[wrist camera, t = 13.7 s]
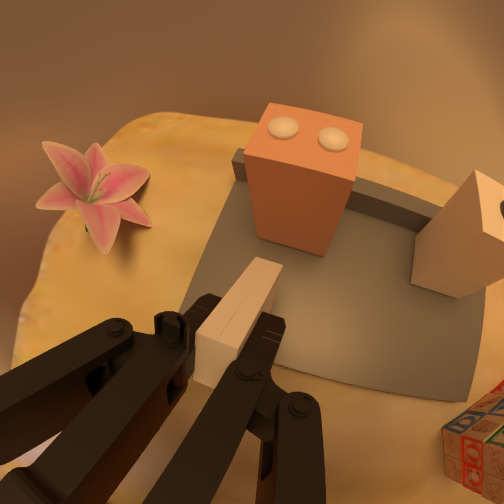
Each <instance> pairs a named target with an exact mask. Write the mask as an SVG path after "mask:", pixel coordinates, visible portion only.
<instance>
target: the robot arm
mask: <svg viewBox="0 0 504 504" xmlns="http://www.w3.org/2000/svg"><path fill="white" fill-rule="evenodd" d="M282 268H283V265H281V264H278V263H275V262H271V261H268V260H265V259H262V258H259V257H255V258H254V260H253V261H252V262H251V263H250V265H249V266H248V267H247V268H246V270H245V271H244V272H243V274H242V275H241V276H240V277H239V279H238V280H237V281H236V282H235V284H234V285H233V286H232V287H231V289H230V290H229V291H228V292H227V294H226V295H225V296H224V297H223V298H221V297H219V296H216V295H213V294H211V293H208V294H206V295H203V296H201V297H199V298H198V299H197V300H196V302H195V303H194V304H193V305H192V306H191V307H190V308H189V310H187V311H186V312H185V313H184V314H183V315H182V314H180V313H177V312H174V311H165V312H161V313H158V314H157V315H155V316H154V325H155V334H154V335H151V334H145V333H140V332H135V331H133V327H132V325H131V324H130V322H128V321H127V320H125V319H121V318H111V319H108V320H106V321H104V322H102V323H100V324H98V325H96V326H94V327H92V328H90V329H88V330H86V331H85V332H83V333H81V334H79V335H77V336H75V337H73V338H71V339H69V340H67V341H65V342H63V343H62V344H60V345H58V346H56V347H54V348H52V349H50V350H48V351H46V352H44V353H43V354H41V355H39V356H37V357H35V358H33V359H31V360H29V361H27V362H25V363H24V364H22V365H20V366H18V367H16V368H14V369H12V370H10V371H9V372H7V373H5V374H3V375H1V376H0V465H4V464H6V463H8V462H10V461H12V460H14V459H16V458H18V457H19V456H21V455H23V454H24V453H26V452H28V451H30V450H31V449H33V448H35V447H36V446H38V445H40V444H41V443H43V442H45V441H46V440H48V439H50V438H51V437H53V436H54V435H56V434H58V433H59V432H61V431H62V432H61V433H60V434H59V435H58V436H57V437H56V439H55V440H54V441H53V442H52V443H51V444H50V445H49V446H48V447H47V448H46V449H45V451H44V452H43V453H42V454H41V455H40V456H39V457H38V458H37V459H36V460H35V462H34V463H33V464H31V465H30V466H28V467H17V468H14V469H12V470H11V471H10V472H8V473H7V474H6V475H5V476H4V478H3V479H2V480H1V481H0V504H105V503H106V502H107V500H108V499H109V498H110V496H111V495H112V494H113V492H114V491H115V490H116V488H117V487H118V486H119V484H120V483H121V482H122V480H123V479H124V477H125V476H126V475H127V473H128V472H129V471H130V469H131V468H132V466H133V465H134V464H135V462H136V461H137V459H138V458H139V457H140V455H141V454H142V452H143V451H144V450H145V448H146V447H147V445H148V444H149V443H150V441H151V440H152V438H153V437H154V436H155V434H156V433H157V431H158V430H159V428H160V427H161V426H162V424H163V423H164V421H165V420H166V418H167V417H168V415H169V414H170V413H171V411H172V410H173V408H174V407H175V405H176V404H177V402H178V401H179V400H180V398H181V397H182V395H183V394H184V392H185V391H186V389H187V386H188V379H189V378H190V377H191V375H192V374H193V380H194V381H196V382H199V383H201V384H203V385H205V386H208V387H210V388H212V389H214V391H213V393H212V394H211V396H210V398H209V399H208V401H207V403H206V404H205V406H204V408H203V409H202V411H201V413H200V414H199V416H198V417H197V419H196V421H195V422H194V424H193V426H192V427H191V429H190V431H189V432H188V434H187V435H186V437H185V439H184V440H183V442H182V443H181V445H180V447H179V448H178V450H177V451H176V453H175V454H174V456H173V458H172V459H171V461H170V462H169V464H168V465H167V467H166V468H165V470H164V471H163V473H162V475H161V476H160V478H159V479H158V481H157V482H156V484H155V485H154V487H153V488H152V490H151V491H150V493H149V494H148V496H147V497H146V498H145V500H144V501H143V503H142V504H210V503H211V501H212V499H213V497H214V495H215V493H216V491H217V489H218V487H219V485H220V483H221V481H222V479H223V477H224V475H225V473H226V471H227V469H228V467H229V465H230V463H231V461H232V459H233V457H234V455H235V452H236V450H237V448H238V446H239V444H240V442H241V439H242V437H243V435H244V433H245V431H246V429H247V430H248V431H250V432H251V433H252V434H254V435H255V436H257V437H258V438H259V439H261V447H260V458H259V470H258V481H257V491H256V502H255V504H326V485H325V465H324V449H323V435H322V423H321V412H320V407H319V404H318V402H317V401H316V400H315V399H314V397H312V396H310V395H309V394H307V393H303V392H291V393H287V392H285V391H284V390H282V389H281V388H279V387H278V386H277V385H276V384H275V383H274V382H273V380H272V378H271V373H270V370H271V367H272V365H273V362H274V360H275V357H276V354H277V352H278V349H279V346H280V343H281V341H282V338H283V335H284V332H285V329H286V324H285V320H284V318H281V317H278V316H275V315H272V314H269V312H270V310H271V308H272V305H273V301H274V297H275V294H276V290H277V286H278V283H279V279H280V275H281V272H282Z"/></svg>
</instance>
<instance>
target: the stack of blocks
mask: <svg viewBox="0 0 504 504" xmlns="http://www.w3.org/2000/svg"><path fill="white" fill-rule="evenodd" d="M442 431H443V441H444V452H445V470H446V476H447V477H449V478H450V479H452V480H454V481H456V482H458V483H460V484H463V486H464V487H466V488H468V489H470V490H472V491H474V492H476V493H478V494H481V495H482V496H483V497H484V498H486V499H488V500H490V501H492V502H494V503H496V504H504V381H503V382H501V383H500V384H499V385H498V386H497V387H496V388H495V389H493V390H492V391H491V392H490V393H489V394H487V395H485V396H484V397H483V398H482V399H481V400H479V401H478V402H477V403H475V404H474V405H473V406H472V407H470V408H469V409H468V410H467V411H465V412H464V413H462V414H461V415H460V416H458V417H457V418H455V419H454V420H453V421H451V422H450V423H448V424H447V425H445V426H444V427H442Z"/></svg>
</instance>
